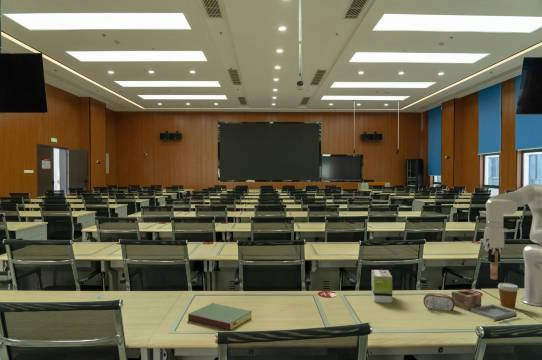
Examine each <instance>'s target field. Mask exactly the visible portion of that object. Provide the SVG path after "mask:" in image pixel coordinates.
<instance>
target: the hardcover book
mask: <svg viewBox="0 0 542 360" xmlns="http://www.w3.org/2000/svg"><path fill="white" fill-rule="evenodd" d="M252 312H253V310H249V309H242V308H239V307H233V306H230V305H229V306H228V305H224V304H219V303H214V302H212V303H210V304H208V305H205V306H202V307H200V308H198V309H196V310H194V311H191V312H190V313H189V312H188V313H187V320H188V321H189V322H193V323H195V324H196V323H197V324H201V325H205V326H209V327H212V328H217V329H221V330H225V329H227V330H226V331H229V330H230V329H231V330H232V329H233V330H234V328H237V327H238V326H240V325H241V323H242V324H243V323H245V322H247V321H248V320H250V319H252ZM231 330H230V331H231Z"/></svg>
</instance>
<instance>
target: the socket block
mask: <svg viewBox="0 0 542 360" xmlns="http://www.w3.org/2000/svg"><path fill="white" fill-rule="evenodd" d="M451 297H452V298H453V300H454V302H455V306H454V307H457V308H459V309H462V310H464V311H468V312H469V311H471V308H476V307H481V306H482V294H481V293H477V292H475V291H471V290H468V289H461V290H455V291H451Z"/></svg>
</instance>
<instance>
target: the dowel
mask: <svg viewBox="0 0 542 360" xmlns="http://www.w3.org/2000/svg"><path fill="white" fill-rule="evenodd" d="M491 251H492V249H491ZM494 255H495V262H494V263H493V262H489V263H490V271H489V272H490V274H489V275H490V276H489V277H490V280H498V274H499V273H498V272H499V271H498V269H499V262H498V251H496V250H494Z"/></svg>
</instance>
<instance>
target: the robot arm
mask: <svg viewBox="0 0 542 360" xmlns="http://www.w3.org/2000/svg"><path fill="white" fill-rule="evenodd" d="M526 205H527V206H528V207H529V210H530V212H531V215H532V221H531V226H530V231H529V240H530V241H531V242H532V243H536V244H538V245H536V244H527V245H526V246H524V248H523V249H522V256H523V261H524V297H522V298H521V299H520V301H521V303H524V304H525V305H530V306H536V307H542V184H534V183H533V184H526V185H524V186H522V187H520V188H518V189H517V190H514V191H510V192H509V191H508V192H506V193H501V194H496V195H493V196H492V197H490V198H488V200H486V202H485V209H486V211H485V213H486V215H485V218H486V219H485V222H486V223H485V228H484V233H483V239H482V240H483V241H482V242H483V243H482V244H483V245H482V246H483V247H484V248H483V249H484V250H485V251H486V253H487V259H488V262H489V263H490V262H493V263H494V262H495V255H494V250H496V251H498V263H500V262H501V254H502V250H503V249H504V248H505V231H504V215H509V216H510V215H514V214H515V213H517V211H518V207H523V206H526ZM539 244H540V245H539ZM491 250H492V251H491Z"/></svg>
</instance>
